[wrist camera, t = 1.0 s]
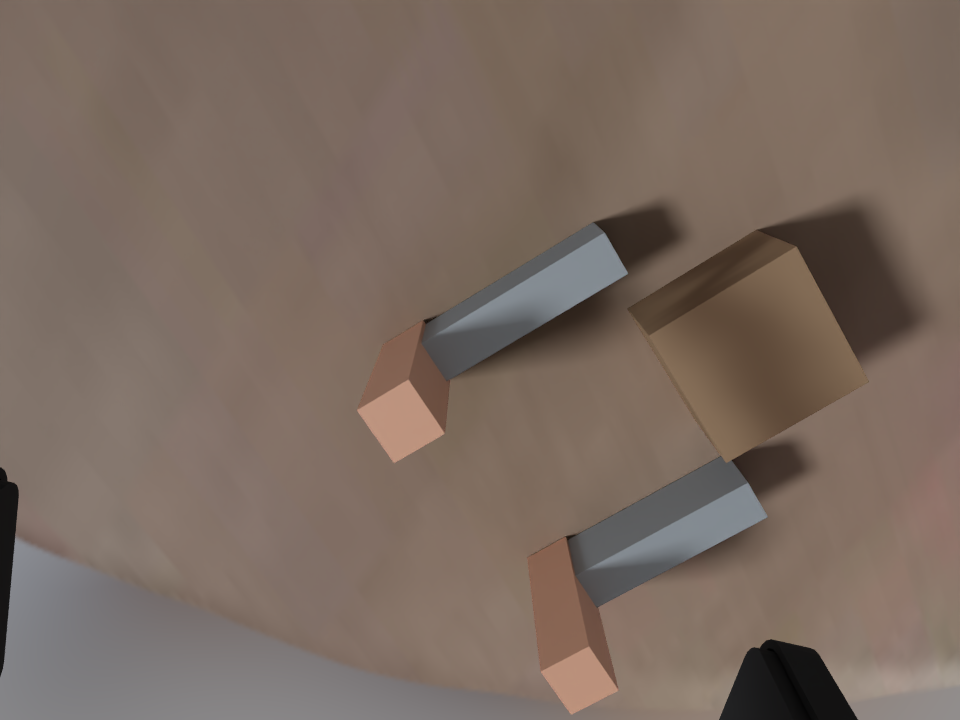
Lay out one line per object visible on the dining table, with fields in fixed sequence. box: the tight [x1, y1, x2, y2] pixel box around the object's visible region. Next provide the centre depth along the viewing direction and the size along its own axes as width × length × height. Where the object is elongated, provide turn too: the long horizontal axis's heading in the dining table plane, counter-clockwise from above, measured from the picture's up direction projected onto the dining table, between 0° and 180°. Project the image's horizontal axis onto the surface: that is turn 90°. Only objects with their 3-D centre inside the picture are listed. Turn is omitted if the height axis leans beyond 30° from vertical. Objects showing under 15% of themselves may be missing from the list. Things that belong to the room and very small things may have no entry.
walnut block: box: [628, 230, 869, 463], centre depth 33 cm, size 6×6×4 cm
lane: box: [357, 222, 767, 714], centre depth 32 cm, size 10×14×8 cm
